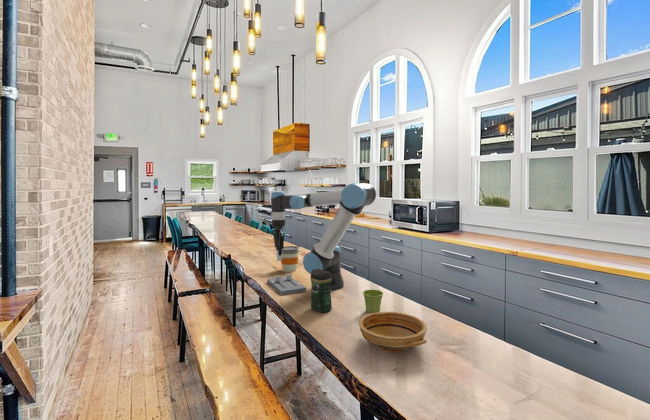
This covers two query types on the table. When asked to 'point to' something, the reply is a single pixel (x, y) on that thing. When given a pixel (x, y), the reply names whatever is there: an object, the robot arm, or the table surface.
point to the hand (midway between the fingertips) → (279, 260)
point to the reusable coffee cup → (289, 258)
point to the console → (286, 286)
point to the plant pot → (373, 300)
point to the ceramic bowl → (393, 330)
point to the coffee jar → (321, 290)
